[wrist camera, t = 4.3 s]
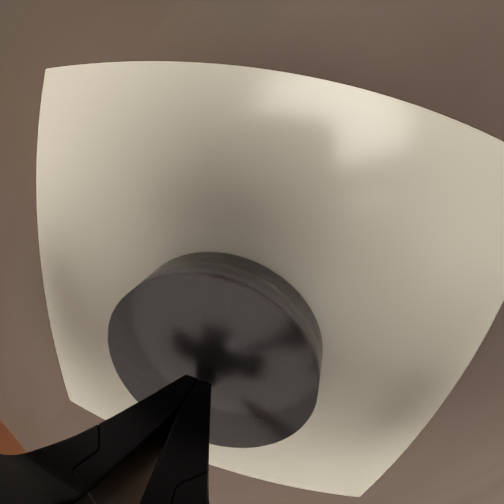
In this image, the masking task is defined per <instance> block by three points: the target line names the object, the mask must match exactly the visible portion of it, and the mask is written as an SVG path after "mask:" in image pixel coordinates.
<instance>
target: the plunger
mask: <svg viewBox="0 0 504 504" xmlns="http://www.w3.org/2000/svg"><path fill="white" fill-rule="evenodd" d="M108 347H109V352H110V356H111V359H112V362H113V365H114V367H115V370H116V372H117V374H118V376H119V377H120V379H121V381H122V383H123V384H124V386H125V387H126V388H127V390H128V391H129V392H130V394H131V395H132V396H133V397H134V398H135V400H136V401H137V402H139V401H141V400H143V399H145V398H146V397H148V396H150V395H152V394H153V393H155V392H157V391H158V390H160V389H162V388H164V387H165V386H167V385H169V384H170V383H172V382H174V381H175V380H177V379H179V378H180V377H182V376H184V375H190V376H193V377H195V378H197V379H198V380H200V379H201V380H204V381H207V382H210V383H211V384H212V389H211V412H210V440H209V444H213V445H217V446H223V447H231V448H254V447H261V446H266V445H270V444H274V443H276V442H279V441H281V440H284V439H286V438H288V437H289V436H291V435H293V434H294V433H295V432H297V431H298V430H299V429H301V428H302V426H303V425H304V424H305V423H306V422H307V421H308V419H309V418H310V416H311V415H312V413H313V411H314V408H315V405H316V402H317V396H318V389H319V381H320V372H321V362H322V353H323V348H322V337H321V332H320V328H319V325H318V323H317V320H316V317H315V316H314V314H313V312H312V310H311V308H310V307H309V305H308V304H307V302H306V301H305V300H304V298H303V297H302V296H301V294H300V293H299V292H298V291H297V290H296V289H295V288H294V287H293V286H292V285H291V284H290V283H288V282H287V281H286V280H285V279H283V278H282V277H281V276H280V275H278V274H277V273H275V272H273V271H272V270H270V269H268V268H267V267H265V266H263V265H261V264H259V263H256V262H254V261H252V260H249V259H246V258H243V257H240V256H237V255H232V254H227V253H220V252H196V253H191V254H186V255H182V256H179V257H177V258H174V259H172V260H170V261H168V262H166V263H164V264H163V265H161V266H160V267H159V268H158V269H156V270H155V271H154V272H153V273H152V274H150V275H149V276H148V277H147V278H146V279H144V280H143V281H142V282H141V283H140V284H138V285H137V286H136V287H135V288H134V289H132V290H131V291H130V292H129V293H128V294H126V295H125V296H124V297H123V298H122V299H121V300H120V302H119V303H118V304H117V305H116V307H115V309H114V311H113V313H112V315H111V318H110V321H109V326H108Z"/></svg>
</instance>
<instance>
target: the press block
mask: <svg viewBox="0 0 504 504" xmlns="http://www.w3.org/2000/svg"><path fill="white" fill-rule="evenodd" d="M36 190H37V221H38V236H39V248H40V258H41V267H42V275H43V283H44V290H45V296H46V302H47V308H48V313H49V319H50V324H51V329H52V334H53V338H54V343H55V347H56V351H57V355H58V359H59V363H60V367H61V371H62V375H63V378H64V382H65V385H66V389H67V392H68V395H69V398H70V400H71V401H72V402H74V403H76V404H77V405H79V406H81V407H83V408H84V409H86V410H88V411H90V412H92V413H93V414H95V415H97V416H99V417H101V418H103V419H105V420H107V419H109V418H111V417H113V416H114V415H116V414H118V413H120V412H122V411H123V410H125V409H127V408H129V407H131V406H132V405H134V404H136V403H138V402H137V401H136V400H135V398H134V397H133V396H132V395H131V394H130V392H129V391H128V390H127V388H126V387H125V386H124V384H123V383H122V381H121V379H120V377H119V376H118V374H117V372H116V370H115V367H114V365H113V362H112V359H111V356H110V352H109V347H108V326H109V321H110V318H111V315H112V313H113V311H114V309H115V307H116V305H117V304H118V303H119V302H120V300H121V299H122V298H123V297H124V296H125V295H126V294H128V293H129V292H130V291H131V290H132V289H134V288H135V287H136V286H137V285H138V284H140V283H141V282H142V281H143V280H144V279H146V278H147V277H148V276H149V275H150V274H152V273H153V272H154V271H155V270H156V269H158V268H159V267H160V266H161V265H163V264H164V263H166V262H168V261H170V260H172V259H174V258H177V257H179V256H182V255H186V254H191V253H196V252H220V253H227V254H232V255H237V256H240V257H243V258H246V259H249V260H252V261H254V262H256V263H259V264H261V265H263V266H265V267H267V268H268V269H270V270H272V271H273V272H275V273H277V274H278V275H280V276H281V277H282V278H283V279H285V280H286V281H287V282H288V283H290V284H291V285H292V286H293V287H294V288H295V289H296V290H297V291H298V292H299V293H300V294H301V296H302V297H303V298H304V300H305V301H306V302H307V304H308V305H309V307H310V308H311V310H312V312H313V314H314V316H315V317H316V320H317V323H318V325H319V328H320V332H321V337H322V348H323V353H322V362H321V372H320V381H319V389H318V396H317V402H316V405H315V408H314V411H313V413H312V415H311V416H310V418H309V419H308V421H307V422H306V423H305V424H304V425H303V426H302V428H301V429H299V430H298V431H297V432H295V433H294V434H293V435H291V436H289V437H288V438H286V439H284V440H281V441H279V442H276V443H274V444H270V445H266V446H261V447H254V448H231V447H223V446H217V445H213V444H209V464H210V465H213V466H216V467H219V468H223V469H226V470H229V471H232V472H236V473H239V474H243V475H246V476H250V477H254V478H257V479H261V480H265V481H269V482H274V483H278V484H282V485H287V486H292V487H297V488H302V489H307V490H313V491H319V492H325V493H332V494H339V495H347V496H356V497H360V496H361V495H362V494H363V493H364V492H365V491H366V490H367V489H368V488H369V487H370V486H371V485H372V484H374V483H375V482H376V481H377V480H378V479H379V478H380V477H381V475H382V474H383V473H384V472H385V471H386V470H387V469H388V468H389V467H390V466H391V465H392V464H393V463H394V462H395V461H396V460H397V459H398V457H399V456H400V455H401V454H402V453H403V452H404V451H405V450H406V448H407V447H408V446H409V445H410V444H411V443H412V441H413V440H414V439H415V438H416V437H417V436H418V434H419V433H420V432H421V431H422V429H423V428H424V427H425V426H426V424H427V423H428V422H429V421H430V419H431V418H432V417H433V415H434V414H435V413H436V411H437V410H438V409H439V407H440V406H441V405H442V403H443V402H444V400H445V399H446V398H447V396H448V395H449V393H450V392H451V391H452V389H453V388H454V386H455V385H456V383H457V382H458V380H459V379H460V377H461V376H462V374H463V373H464V371H465V369H466V368H467V366H468V365H469V363H470V361H471V360H472V358H473V356H474V355H475V353H476V351H477V350H478V348H479V346H480V344H481V343H482V341H483V339H484V337H485V336H486V334H487V332H488V330H489V328H490V326H491V324H492V323H493V321H494V319H495V317H496V315H497V313H498V311H499V309H500V307H501V305H502V303H503V300H504V142H503V141H501V140H499V139H497V138H495V137H492V136H490V135H488V134H486V133H484V132H482V131H480V130H477V129H475V128H473V127H471V126H468V125H466V124H464V123H461V122H459V121H456V120H454V119H451V118H449V117H446V116H444V115H441V114H439V113H436V112H433V111H431V110H428V109H425V108H422V107H419V106H417V105H414V104H411V103H408V102H405V101H402V100H398V99H395V98H392V97H389V96H385V95H382V94H379V93H375V92H372V91H368V90H364V89H361V88H357V87H353V86H349V85H345V84H341V83H336V82H332V81H328V80H323V79H318V78H313V77H308V76H303V75H298V74H292V73H286V72H280V71H274V70H267V69H260V68H252V67H244V66H234V65H224V64H212V63H197V62H172V61H132V62H108V63H94V64H82V65H72V66H63V67H56V68H48V69H46V71H45V77H44V84H43V91H42V99H41V107H40V117H39V129H38V144H37V174H36Z"/></svg>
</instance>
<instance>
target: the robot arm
mask: <svg viewBox="0 0 504 504" xmlns="http://www.w3.org/2000/svg"><path fill="white" fill-rule="evenodd" d="M211 389H212V384H211V383H210V382H207V381H204V380H201V379H200V380H198V379H197V378H195V377H193V376H190V375H184V376H182V377H180V378H179V379H177V380H175V381H174V382H172V383H170V384H169V385H167V386H165V387H164V388H162V389H160V390H158V391H157V392H155V393H153V394H152V395H150V396H148V397H146V398H145V399H143V400H141V401H139V402H138V403H136V404H134V405H132V406H131V407H129V408H127V409H125V410H123V411H122V412H120V413H118V414H116V415H114V416H113V417H111V418H109V419H107V420H105V421H103V422H102V423H100V424H99V425H96V426H94V427H92V428H90V429H88V430H86V431H84V432H82V433H80V434H78V435H76V436H73V437H71V438H68V439H66V440H63V441H61V442H58V443H55V444H52V445H49V446H46V447H43V448H40V449H37V450H34V451H31V452H28V453H24V454H19V455H3V454H0V504H139V503H140V504H209V485H208V483H209V473H208V472H209V440H210V412H211Z"/></svg>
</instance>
